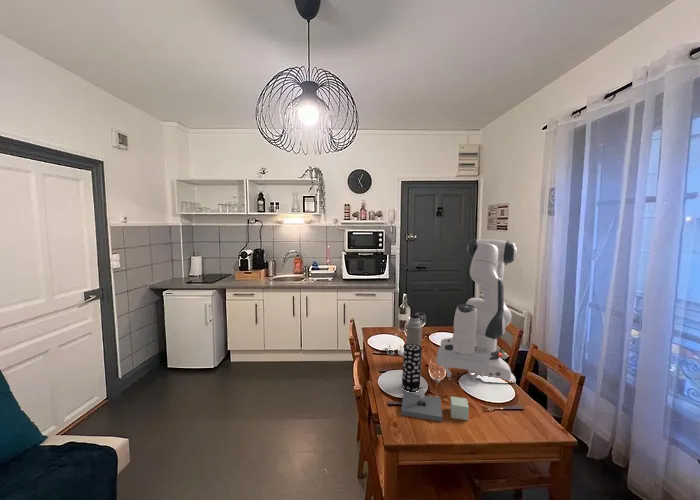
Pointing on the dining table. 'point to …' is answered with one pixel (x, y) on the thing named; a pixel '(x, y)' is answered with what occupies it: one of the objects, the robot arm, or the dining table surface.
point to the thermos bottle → (414, 330)
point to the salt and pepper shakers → (400, 350)
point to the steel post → (422, 396)
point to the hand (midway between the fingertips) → (460, 378)
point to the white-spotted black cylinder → (411, 367)
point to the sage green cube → (459, 408)
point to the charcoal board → (421, 407)
